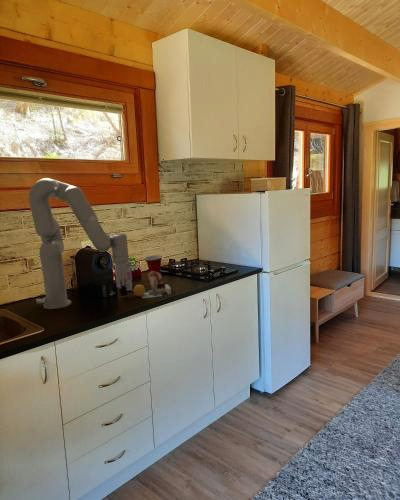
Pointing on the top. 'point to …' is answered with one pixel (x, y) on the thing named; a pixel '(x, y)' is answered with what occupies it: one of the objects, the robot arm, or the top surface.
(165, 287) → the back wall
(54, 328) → the top surface
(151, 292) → the front pin
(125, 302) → the top surface
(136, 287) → the ball
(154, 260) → the plastic cup
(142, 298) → the pin deck mark
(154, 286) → the back pin near
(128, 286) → the candy box
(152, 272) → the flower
